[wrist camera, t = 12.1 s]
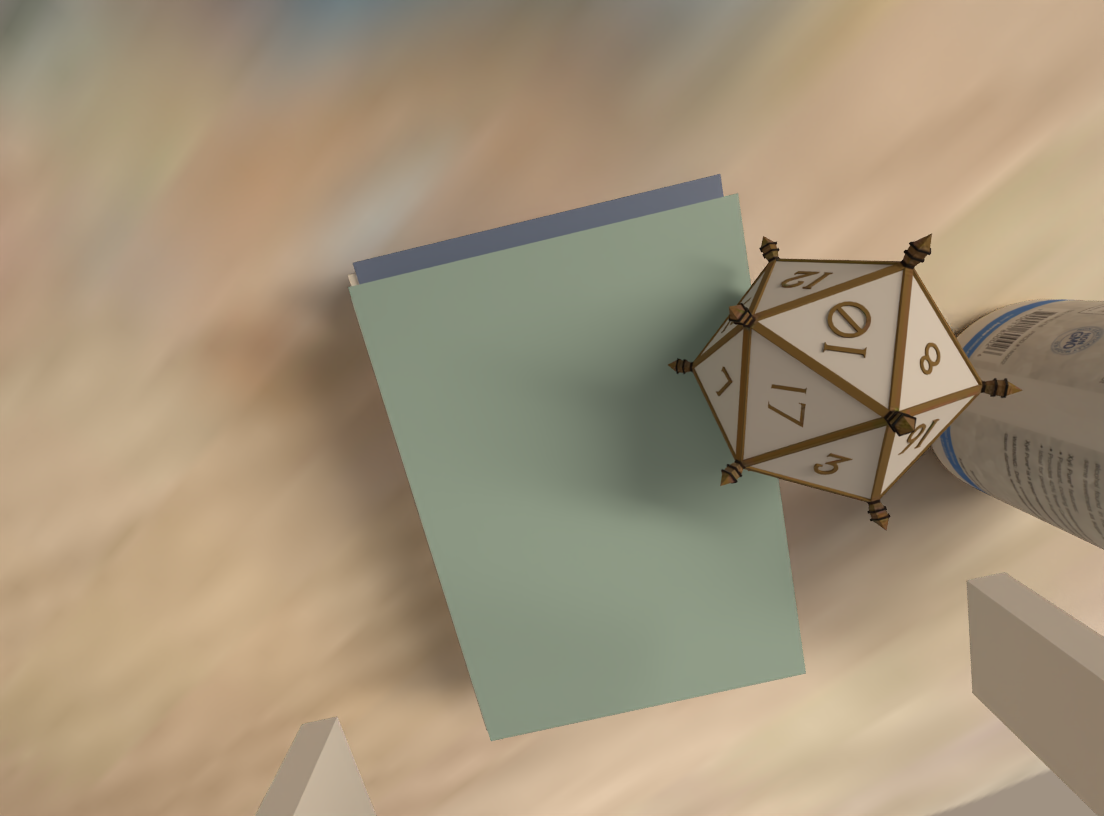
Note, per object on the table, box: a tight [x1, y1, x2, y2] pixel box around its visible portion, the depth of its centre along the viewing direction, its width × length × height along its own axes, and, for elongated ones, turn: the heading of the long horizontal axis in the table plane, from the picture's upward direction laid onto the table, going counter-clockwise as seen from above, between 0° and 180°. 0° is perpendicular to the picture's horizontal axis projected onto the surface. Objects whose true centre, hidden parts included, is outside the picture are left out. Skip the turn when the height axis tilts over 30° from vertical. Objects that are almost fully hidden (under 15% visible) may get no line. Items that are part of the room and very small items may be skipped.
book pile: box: [348, 174, 806, 741], centre depth 25 cm, size 22×15×6 cm
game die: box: [668, 234, 1023, 531], centre depth 18 cm, size 9×8×10 cm
